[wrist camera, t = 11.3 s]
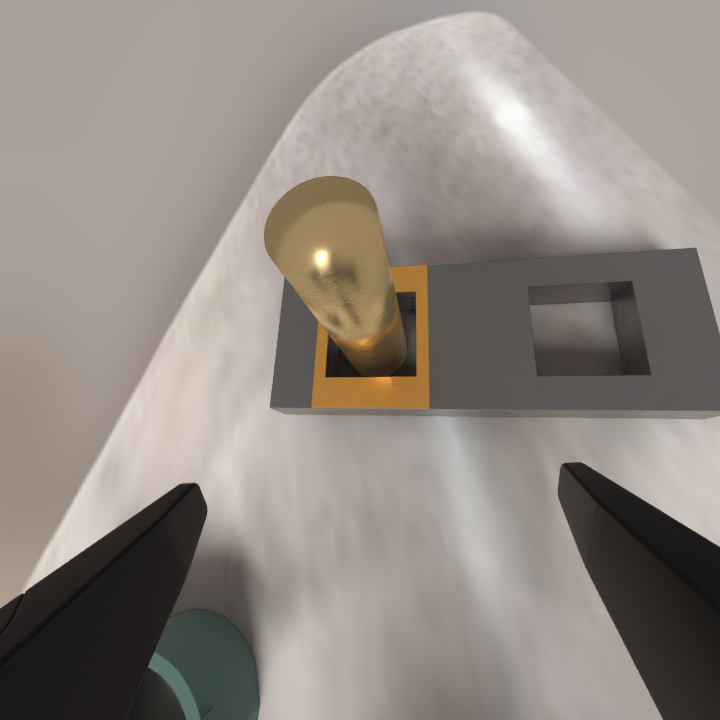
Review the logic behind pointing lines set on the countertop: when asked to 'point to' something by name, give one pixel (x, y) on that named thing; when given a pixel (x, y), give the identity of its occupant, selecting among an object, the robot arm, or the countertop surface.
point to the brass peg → (340, 269)
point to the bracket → (207, 667)
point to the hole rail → (520, 343)
